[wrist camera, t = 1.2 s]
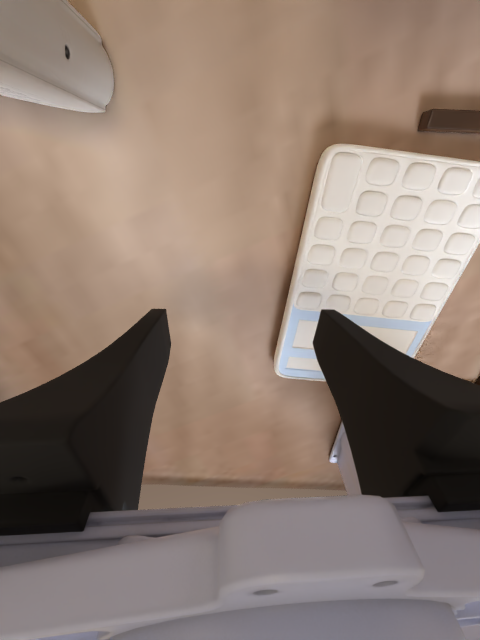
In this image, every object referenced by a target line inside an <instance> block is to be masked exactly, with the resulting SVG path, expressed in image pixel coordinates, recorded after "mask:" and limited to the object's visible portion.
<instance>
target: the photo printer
mask: <svg viewBox="0 0 480 640" xmlns="http://www.w3.org/2000/svg"><path fill="white" fill-rule="evenodd" d="M113 90H114V74H113V68H112V65H111V62H110V59H109V57H108V55H107V53H106V51H105V49H104V48H103V47H102V39H101V36H100V35H99V34H98V32H97V31H96V30H95V29H94V28H93V27H92V26H91V24H90V23H89V22H88V21H87V20H86V19H85V18H84V17H83V16H82V15H81V14H80V13H79V12H78V11H77V10H76V9H75V8H74V7H73V6H72V5H71V4H70V3H69V2H68V1H67V0H0V95H2V96H6V97H11V98H15V99H20V100H24V101H29V102H33V103H38V104H43V105H47V106H52V107H58V108H63V109H69V110H75V111H80V112H91V113H100V112H106V105H108V103H109V102H110V100H111V98H112V94H113Z"/></svg>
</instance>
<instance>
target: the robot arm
mask: <svg viewBox="0 0 480 640" xmlns="http://www.w3.org/2000/svg"><path fill="white" fill-rule="evenodd" d="M313 347H314V351H315V354H316V358H317V361H318V363H319V366H320V368H321V370H322V373H323V375H324V377H325V379H326V382H327V384H328V386H329V388H330V391H331V393H332V395H333V397H334V400H335V402H336V405H337V407H338V410H339V413H340V416H341V419H342V422H341V425H340V428H339V431H338V434H337V437H336V440H335V443H334V445H333V448H332V451H331V454H330V457H329V460H330V462H332V463H337V464H338V467H339V470H340V473H341V476H342V479H343V482H344V485H345V488H346V491H347V494H348V495H347V496H326V497H305V498H285V499H265V500H259V501H252V502H246V503H243V504H240V505H231V506H210V507H189V508H168V509H148V510H138V504H139V497H140V490H141V482H142V476H143V469H144V463H145V456H146V451H147V445H148V439H149V433H150V428H151V423H152V417H153V413H154V409H155V405H156V401H157V398H158V395H159V391H160V388H161V385H162V382H163V378H164V375H165V372H166V368H167V365H168V360H169V354H170V348H171V340H170V334H169V327H168V320H167V314H166V309H151V310H150V311H149V312H148V313H147V314H146V315H145V316H144V317H143V318H141V319H140V320H139V321H138V322H137V323H136V324H135V325H134V326H133V327H131V328H130V329H129V330H128V331H127V332H126V333H125V334H123V335H122V336H121V337H119V338H118V339H117V340H116V341H114V342H113V343H112V344H111V345H109V346H108V347H107V348H105V349H104V350H102V351H101V352H100V353H98V354H97V355H95V356H94V357H92V358H90V359H89V360H87V361H86V362H84V363H82V364H81V365H79V366H77V367H75V368H74V369H72V370H70V371H68V372H66V373H65V374H63V375H61V376H59V377H57V378H55V379H53V380H51V381H49V382H47V383H45V384H43V385H41V386H39V387H36V388H34V389H32V390H30V391H28V392H25V393H23V394H21V395H18V396H16V397H13V398H11V399H8V400H6V401H3V402H1V403H0V640H480V385H477V384H474V383H472V382H469V381H466V380H463V379H461V378H458V377H455V376H453V375H450V374H448V373H445V372H443V371H440V370H438V369H436V368H433V367H431V366H429V365H426V364H424V363H422V362H420V361H418V360H416V359H414V358H412V357H410V356H408V355H406V354H404V353H402V352H400V351H398V350H397V349H395V348H393V347H391V346H390V345H388V344H386V343H385V342H383V341H381V340H380V339H378V338H376V337H375V336H373V335H372V334H370V333H369V332H367V331H366V330H364V329H363V328H361V327H360V326H358V325H357V324H355V323H354V322H353V321H351V320H350V319H348V318H347V317H345V316H344V315H342V314H341V313H339V312H338V311H336V310H334V309H321V312H320V316H319V320H318V324H317V328H316V332H315V336H314V339H313Z"/></svg>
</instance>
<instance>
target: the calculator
mask: <svg viewBox="0 0 480 640" xmlns="http://www.w3.org/2000/svg"><path fill="white" fill-rule="evenodd" d="M479 243H480V161H472V160H465V159H458V158H450V157H443V156H436V155H428V154H421V153H414V152H406V151H399V150H392V149H384V148H377V147H370V146H362V145H354V144H334V145H332V146H329V147H327V148H326V149H325V151H324V152H323V153H322V155H321V157H320V159H319V162H318V165H317V169H316V173H315V177H314V181H313V186H312V190H311V195H310V199H309V204H308V208H307V212H306V217H305V221H304V226H303V230H302V235H301V239H300V244H299V248H298V253H297V257H296V262H295V266H294V271H293V275H292V280H291V284H290V289H289V293H288V298H287V302H286V306H285V311H284V315H283V320H282V324H281V329H280V333H279V338H278V342H277V347H276V351H275V356H274V370H275V372H276V374H277V375H279V376H280V377H284V378H291V379H302V380H314V381H326V379H325V377H324V375H323V373H322V370H321V368H320V366H319V363H318V361H317V358H316V354H315V351H314V347H313V339H314V336H315V332H316V328H317V324H318V320H319V316H320V312H321V309H334V310H336V311H338V312H339V313H341V314H342V315H344V316H345V317H347V318H348V319H350V320H351V321H353V322H354V323H355V324H357V325H358V326H360V327H361V328H363V329H364V330H366V331H367V332H369V333H370V334H372V335H373V336H375V337H376V338H378V339H380V340H381V341H383V342H385V343H386V344H388V345H390V346H391V347H393V348H395V349H397V350H398V351H400V352H402V353H404V354H406V355H408V356H410V357H412V358H414V357H415V355H416V353H417V352H418V350H419V348H420V346H421V345H422V343H423V341H424V339H425V338H426V336H427V334H428V332H429V331H430V329H431V327H432V325H433V324H434V322H435V320H436V318H437V317H438V315H439V313H440V311H441V310H442V308H443V306H444V304H445V303H446V301H447V299H448V297H449V296H450V294H451V292H452V290H453V289H454V287H455V285H456V283H457V282H458V280H459V278H460V276H461V275H462V273H463V271H464V269H465V268H466V266H467V264H468V262H469V261H470V259H471V257H472V255H473V254H474V252H475V250H476V248H477V247H478V245H479Z"/></svg>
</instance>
